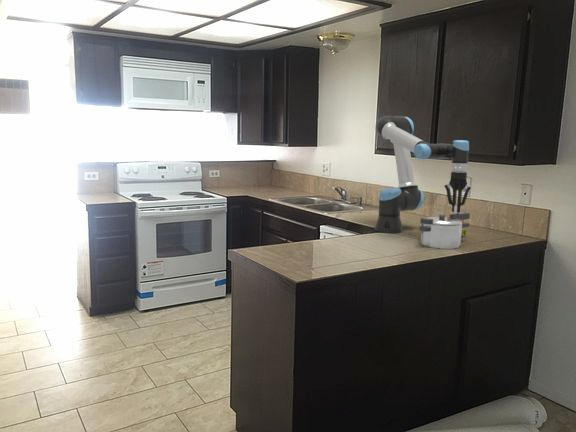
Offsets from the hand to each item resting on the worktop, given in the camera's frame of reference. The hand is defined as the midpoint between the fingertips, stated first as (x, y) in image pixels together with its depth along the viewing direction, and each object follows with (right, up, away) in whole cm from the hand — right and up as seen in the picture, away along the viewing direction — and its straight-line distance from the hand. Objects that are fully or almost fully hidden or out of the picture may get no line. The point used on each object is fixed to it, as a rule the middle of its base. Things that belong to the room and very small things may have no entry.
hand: (455, 218), depth 251 cm
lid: (-7, -1, -7) cm, 10 cm away
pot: (-7, -13, -6) cm, 16 cm away
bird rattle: (+5, -10, +14) cm, 18 cm away
